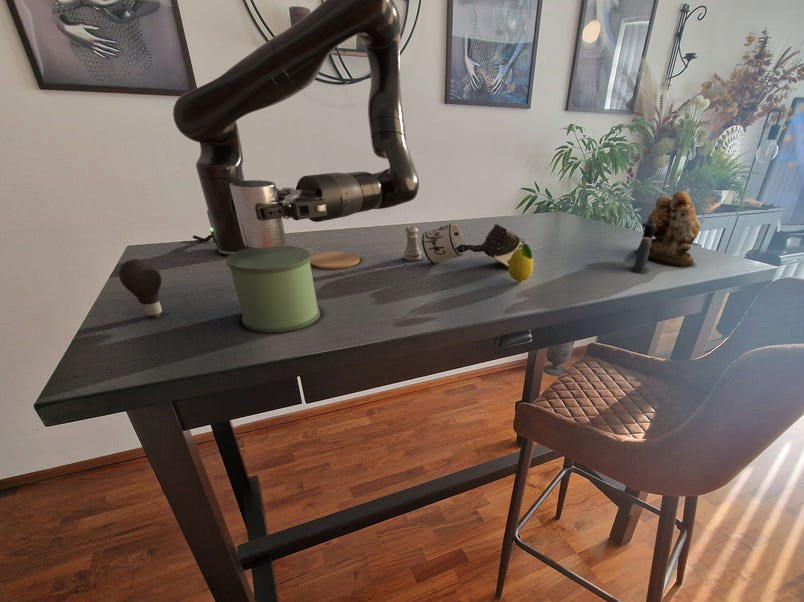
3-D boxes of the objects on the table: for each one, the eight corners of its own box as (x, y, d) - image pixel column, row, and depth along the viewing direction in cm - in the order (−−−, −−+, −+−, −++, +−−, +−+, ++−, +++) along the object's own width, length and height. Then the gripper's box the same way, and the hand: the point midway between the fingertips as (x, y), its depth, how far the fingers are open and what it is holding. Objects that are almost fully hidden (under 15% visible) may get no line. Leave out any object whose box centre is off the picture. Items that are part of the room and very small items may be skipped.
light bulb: (147, 309, 80) (125, 254, 74) (180, 309, 80) (161, 254, 75) (129, 322, 75) (104, 264, 70) (164, 322, 76) (142, 265, 70)
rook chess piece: (423, 256, 113) (422, 224, 109) (419, 261, 110) (418, 228, 105) (406, 255, 114) (404, 223, 109) (402, 260, 110) (400, 227, 106)
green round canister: (226, 320, 77) (208, 258, 71) (286, 297, 87) (275, 241, 81) (277, 339, 72) (262, 274, 66) (335, 313, 82) (326, 254, 76)
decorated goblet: (421, 270, 105) (419, 226, 99) (424, 257, 113) (423, 217, 108) (526, 273, 106) (531, 230, 100) (522, 260, 114) (525, 220, 109)
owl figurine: (624, 250, 127) (638, 186, 118) (654, 246, 132) (669, 184, 122) (672, 269, 114) (692, 198, 104) (703, 264, 118) (725, 196, 109)
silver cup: (235, 243, 71) (219, 183, 66) (268, 235, 76) (256, 178, 71) (261, 250, 69) (248, 188, 64) (294, 242, 74) (284, 183, 69)
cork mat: (297, 262, 105) (296, 260, 105) (334, 251, 114) (333, 248, 114) (334, 272, 101) (334, 269, 100) (369, 259, 110) (369, 257, 109)
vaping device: (645, 267, 113) (658, 219, 107) (643, 273, 109) (655, 223, 103) (635, 266, 114) (647, 218, 108) (632, 271, 110) (644, 222, 104)
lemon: (528, 289, 96) (533, 243, 91) (503, 285, 98) (506, 239, 93) (536, 280, 102) (541, 236, 96) (511, 276, 103) (515, 232, 98)
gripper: (301, 168, 81) (211, 177, 69) (356, 179, 74) (267, 190, 62) (308, 211, 85) (224, 226, 73) (360, 224, 78) (277, 243, 67)
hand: (244, 209), depth 68 cm, fingers closed on silver cup, 6 cm apart
